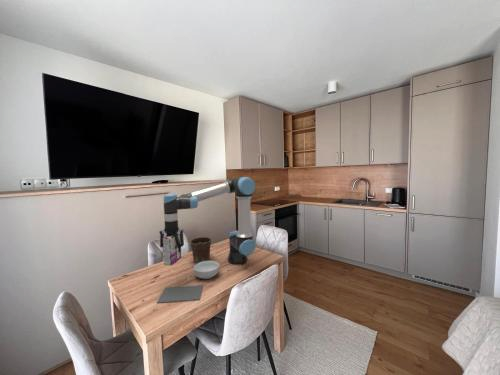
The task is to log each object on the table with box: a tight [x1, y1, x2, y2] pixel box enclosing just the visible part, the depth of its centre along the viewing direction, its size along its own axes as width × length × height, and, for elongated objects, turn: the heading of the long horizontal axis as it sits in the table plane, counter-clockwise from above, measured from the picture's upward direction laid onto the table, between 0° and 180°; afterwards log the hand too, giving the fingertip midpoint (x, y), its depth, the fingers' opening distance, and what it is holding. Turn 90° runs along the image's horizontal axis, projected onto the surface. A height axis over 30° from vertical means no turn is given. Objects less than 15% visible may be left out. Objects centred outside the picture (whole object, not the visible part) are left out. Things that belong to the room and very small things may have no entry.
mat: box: [156, 284, 204, 304], centre depth 115 cm, size 22×14×1 cm, turn 96°
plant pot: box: [189, 236, 212, 264], centre depth 159 cm, size 16×16×16 cm
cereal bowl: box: [192, 260, 220, 280], centre depth 135 cm, size 17×17×7 cm
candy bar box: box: [162, 232, 182, 267], centre depth 123 cm, size 11×5×16 cm, turn 167°
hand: (172, 257), depth 124 cm, fingers closed on candy bar box, 6 cm apart
